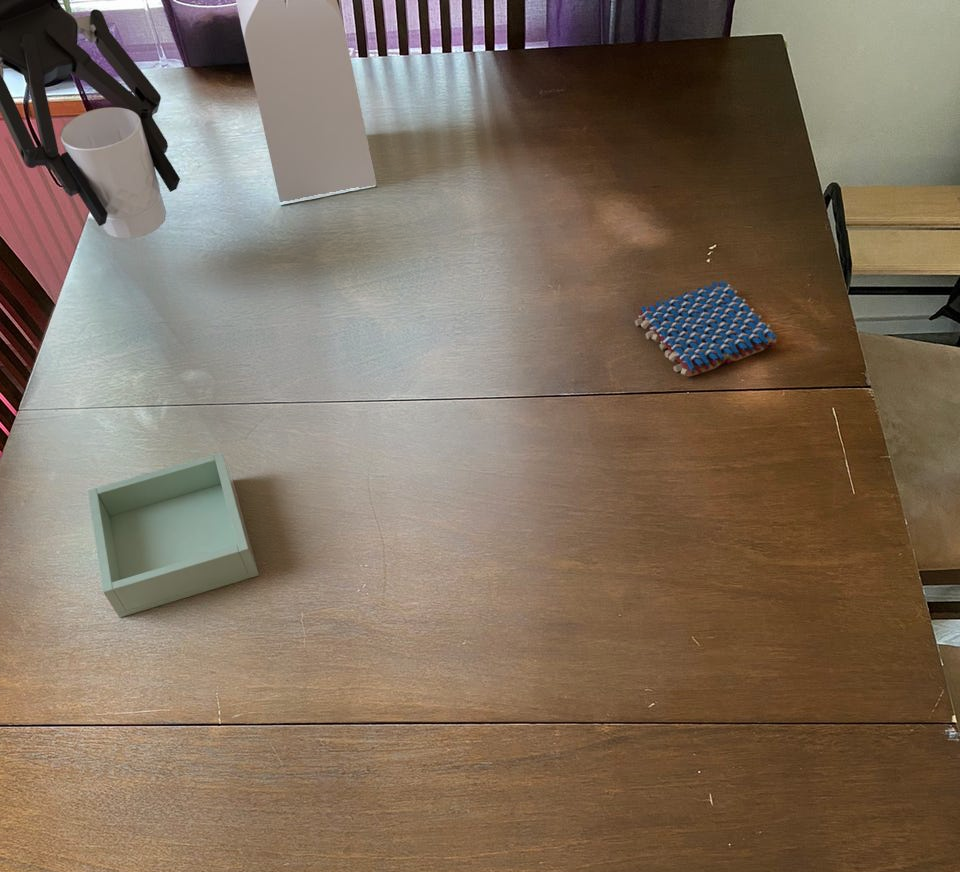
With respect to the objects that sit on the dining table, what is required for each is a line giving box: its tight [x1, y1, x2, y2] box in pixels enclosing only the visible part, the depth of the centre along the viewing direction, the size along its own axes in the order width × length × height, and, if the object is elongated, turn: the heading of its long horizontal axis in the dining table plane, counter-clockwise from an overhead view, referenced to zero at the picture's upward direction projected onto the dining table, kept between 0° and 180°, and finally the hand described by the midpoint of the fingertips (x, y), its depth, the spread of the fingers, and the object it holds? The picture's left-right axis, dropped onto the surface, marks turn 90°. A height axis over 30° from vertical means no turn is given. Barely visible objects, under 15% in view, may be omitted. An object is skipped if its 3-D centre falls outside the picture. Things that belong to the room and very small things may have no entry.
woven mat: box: [634, 281, 777, 378], centre depth 98 cm, size 10×11×2 cm
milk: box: [235, 0, 377, 203], centre depth 110 cm, size 12×12×26 cm
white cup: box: [59, 106, 167, 240], centre depth 102 cm, size 8×8×10 cm
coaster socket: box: [87, 451, 260, 618], centre depth 87 cm, size 12×12×4 cm
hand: (139, 202), depth 102 cm, fingers closed on white cup, 8 cm apart
